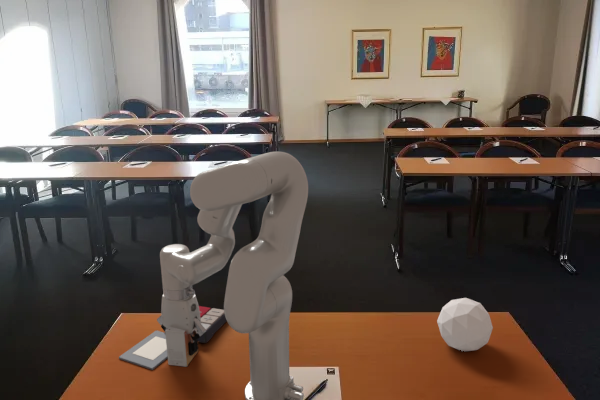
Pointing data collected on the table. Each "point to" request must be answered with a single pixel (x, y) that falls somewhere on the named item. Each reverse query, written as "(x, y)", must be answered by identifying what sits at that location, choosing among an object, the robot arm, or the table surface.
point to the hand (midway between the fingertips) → (183, 349)
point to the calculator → (210, 322)
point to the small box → (178, 347)
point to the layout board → (148, 351)
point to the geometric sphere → (465, 324)
